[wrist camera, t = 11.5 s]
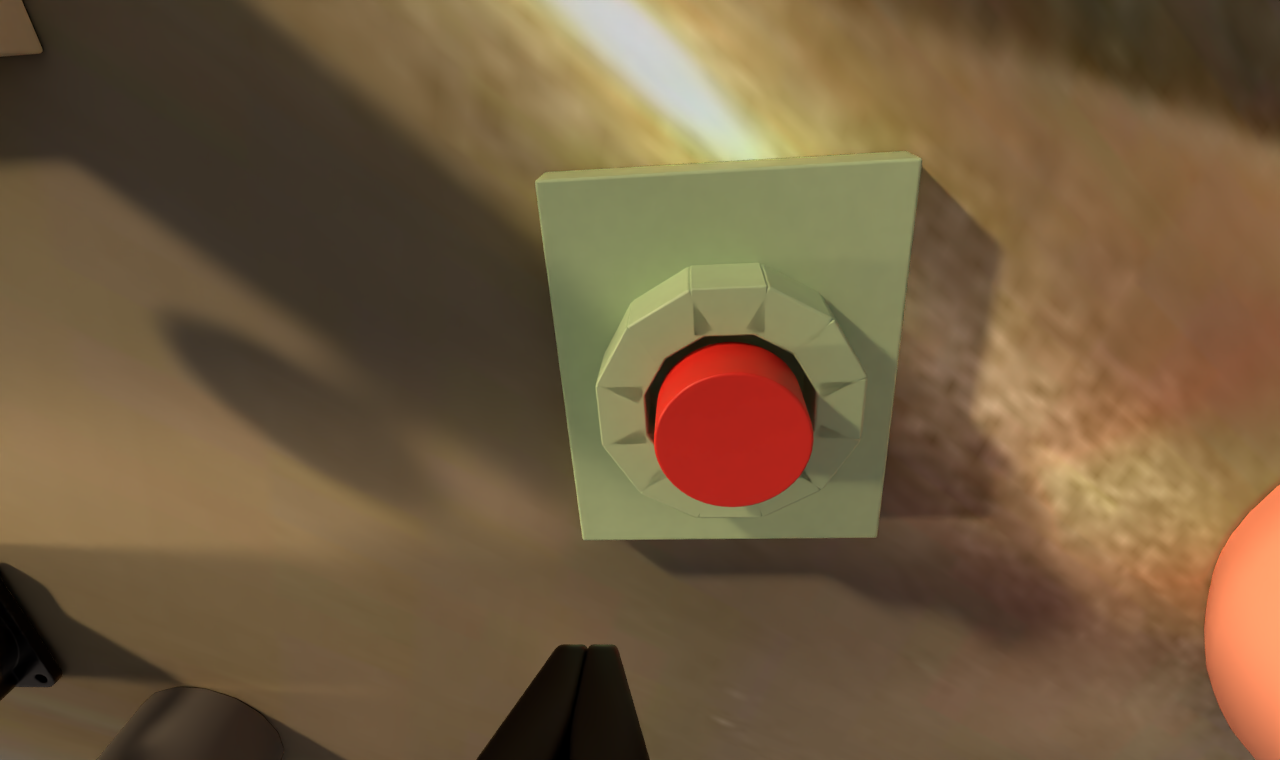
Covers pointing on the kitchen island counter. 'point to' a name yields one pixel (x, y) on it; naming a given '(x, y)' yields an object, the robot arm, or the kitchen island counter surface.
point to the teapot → (1248, 630)
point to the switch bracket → (16, 30)
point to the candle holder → (194, 730)
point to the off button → (732, 425)
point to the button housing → (730, 324)
